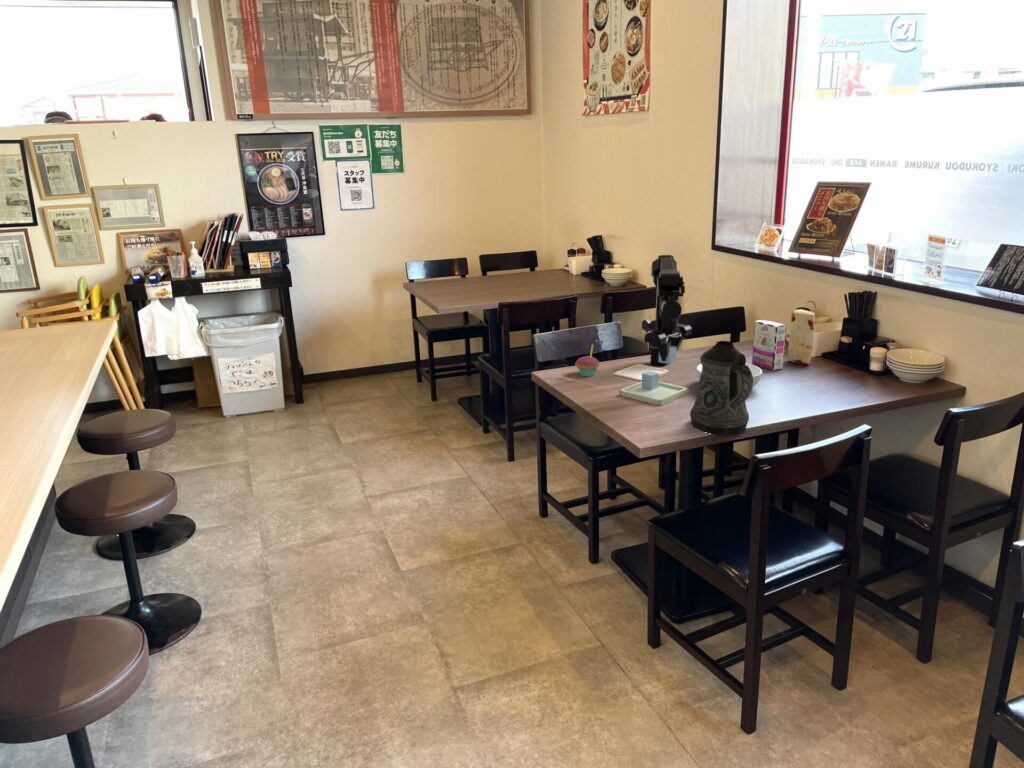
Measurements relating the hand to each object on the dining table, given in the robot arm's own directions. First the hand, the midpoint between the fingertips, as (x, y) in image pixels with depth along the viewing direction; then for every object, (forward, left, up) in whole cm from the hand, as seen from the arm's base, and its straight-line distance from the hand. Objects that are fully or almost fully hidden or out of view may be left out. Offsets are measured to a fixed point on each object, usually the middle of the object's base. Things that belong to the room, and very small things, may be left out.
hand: (667, 359), depth 242 cm
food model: (-60, +17, -12) cm, 64 cm away
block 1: (0, -7, -11) cm, 13 cm away
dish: (-12, -19, -12) cm, 25 cm away
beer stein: (+14, +29, -12) cm, 34 cm away
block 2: (0, 0, -1) cm, 1 cm away
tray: (+3, -3, -12) cm, 12 cm away
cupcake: (+1, -33, -12) cm, 35 cm away
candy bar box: (-49, +10, -12) cm, 51 cm away
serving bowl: (-18, +12, -12) cm, 25 cm away
